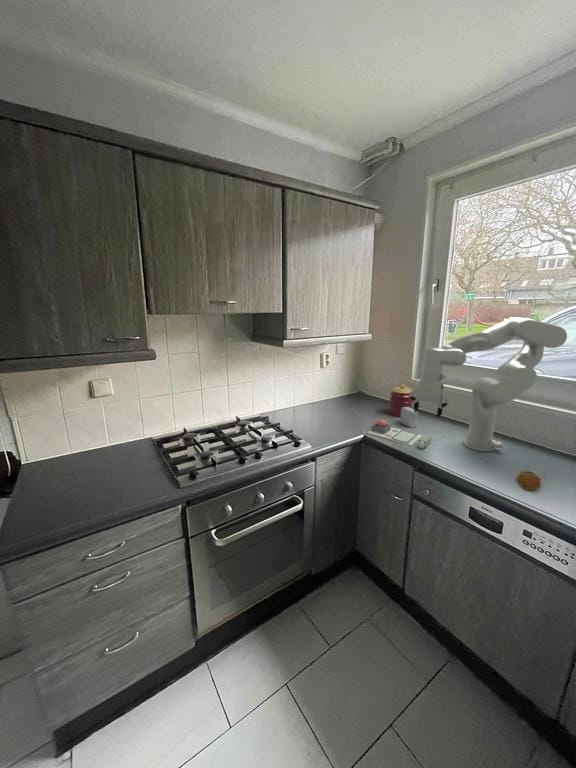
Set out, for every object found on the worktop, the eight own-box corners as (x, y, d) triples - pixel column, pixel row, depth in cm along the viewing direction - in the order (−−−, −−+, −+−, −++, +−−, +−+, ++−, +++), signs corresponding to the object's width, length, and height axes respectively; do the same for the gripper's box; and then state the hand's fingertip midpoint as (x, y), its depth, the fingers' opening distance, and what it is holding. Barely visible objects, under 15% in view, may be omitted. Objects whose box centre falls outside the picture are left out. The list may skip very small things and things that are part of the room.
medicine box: (416, 426, 167) (418, 411, 164) (410, 427, 165) (411, 412, 163) (406, 421, 174) (407, 406, 172) (399, 422, 172) (401, 407, 170)
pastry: (541, 495, 108) (543, 485, 107) (517, 489, 112) (518, 479, 111) (538, 482, 115) (540, 472, 115) (516, 477, 119) (517, 467, 118)
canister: (383, 411, 189) (386, 383, 185) (400, 408, 194) (402, 380, 190) (399, 418, 178) (402, 388, 173) (416, 415, 183) (419, 385, 178)
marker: (431, 442, 148) (432, 436, 147) (424, 449, 141) (425, 442, 140) (424, 440, 150) (424, 434, 149) (416, 447, 143) (417, 440, 142)
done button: (387, 426, 160) (387, 420, 159) (383, 428, 157) (384, 422, 156) (379, 423, 163) (379, 418, 162) (375, 426, 160) (375, 420, 159)
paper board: (422, 436, 154) (422, 429, 154) (411, 446, 144) (412, 439, 143) (379, 425, 168) (380, 419, 167) (367, 433, 158) (367, 427, 157)
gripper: (455, 378, 134) (450, 415, 139) (414, 372, 145) (410, 407, 150) (451, 381, 129) (445, 420, 133) (408, 374, 140) (404, 411, 144)
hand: (427, 413), depth 141 cm, fingers open, 9 cm apart
